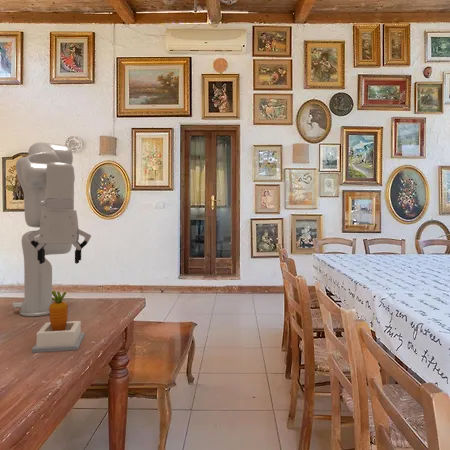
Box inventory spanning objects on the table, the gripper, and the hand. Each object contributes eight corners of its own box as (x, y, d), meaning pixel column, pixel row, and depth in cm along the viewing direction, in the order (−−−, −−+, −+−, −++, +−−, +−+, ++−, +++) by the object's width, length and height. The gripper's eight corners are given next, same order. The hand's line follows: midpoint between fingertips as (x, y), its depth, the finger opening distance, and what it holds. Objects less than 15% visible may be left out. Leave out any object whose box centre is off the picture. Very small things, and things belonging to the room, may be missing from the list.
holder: (31, 352, 100) (31, 334, 99) (43, 337, 111) (43, 321, 111) (77, 349, 102) (77, 332, 102) (84, 335, 114) (84, 319, 114)
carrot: (71, 337, 109) (71, 289, 108) (59, 344, 104) (58, 292, 103) (58, 336, 110) (57, 287, 109) (46, 342, 105) (44, 291, 104)
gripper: (23, 204, 100) (23, 265, 101) (89, 206, 104) (88, 264, 104) (31, 204, 107) (31, 261, 108) (92, 206, 111) (92, 260, 112)
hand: (59, 263), depth 106 cm, fingers open, 9 cm apart
